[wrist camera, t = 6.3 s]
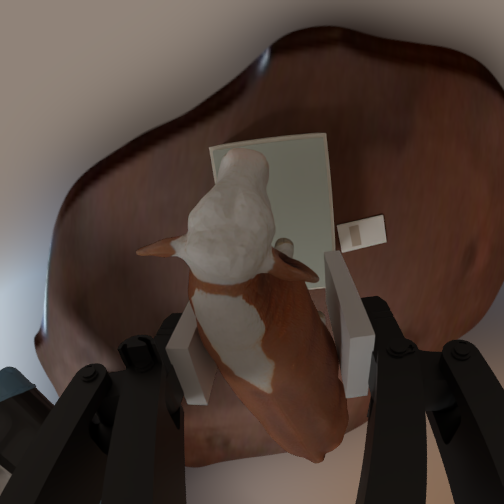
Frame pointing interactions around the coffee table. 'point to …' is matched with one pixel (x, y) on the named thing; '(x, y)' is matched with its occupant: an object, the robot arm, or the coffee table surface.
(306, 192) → the plinth
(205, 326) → the bull figurine
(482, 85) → the coffee table surface
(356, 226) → the page
